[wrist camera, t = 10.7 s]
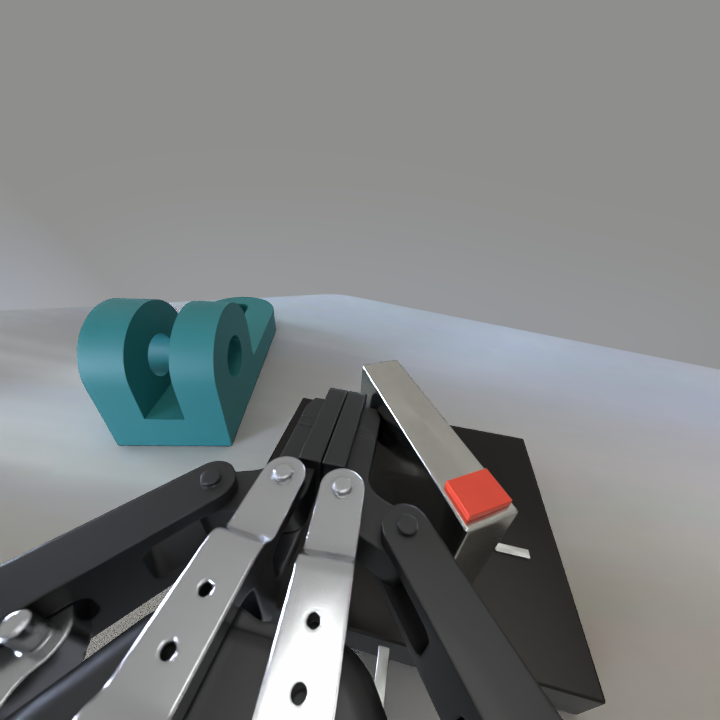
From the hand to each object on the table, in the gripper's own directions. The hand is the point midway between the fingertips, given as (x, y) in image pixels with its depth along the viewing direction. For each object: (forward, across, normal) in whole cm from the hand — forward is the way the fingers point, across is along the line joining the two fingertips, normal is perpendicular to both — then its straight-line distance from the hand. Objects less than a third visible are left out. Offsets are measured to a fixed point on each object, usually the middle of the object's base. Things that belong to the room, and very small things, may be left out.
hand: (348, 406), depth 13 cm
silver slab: (-2, -3, +5) cm, 6 cm away
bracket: (+10, +13, +7) cm, 18 cm away
